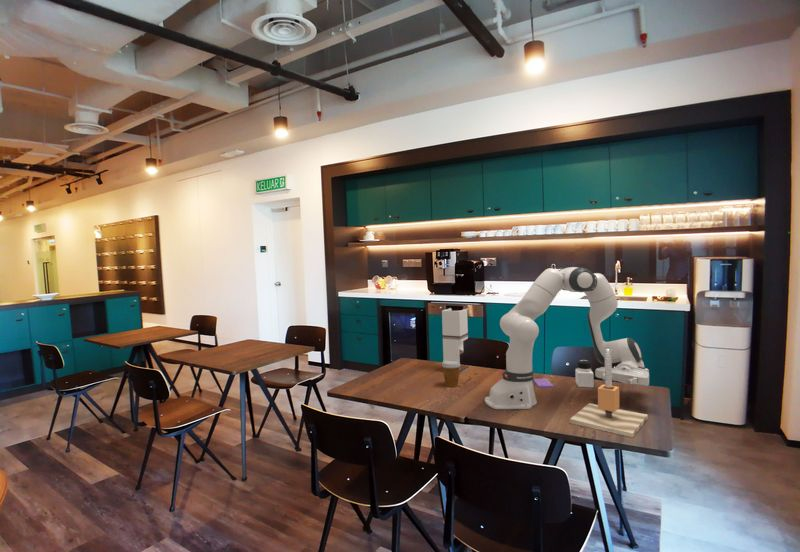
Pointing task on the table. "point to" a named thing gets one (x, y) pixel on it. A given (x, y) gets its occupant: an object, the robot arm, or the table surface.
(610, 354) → the steel pipe
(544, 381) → the sponges
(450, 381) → the disposable coffee cup
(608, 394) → the sleeve
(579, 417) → the pipe stand
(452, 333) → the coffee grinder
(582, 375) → the medicine bottle
